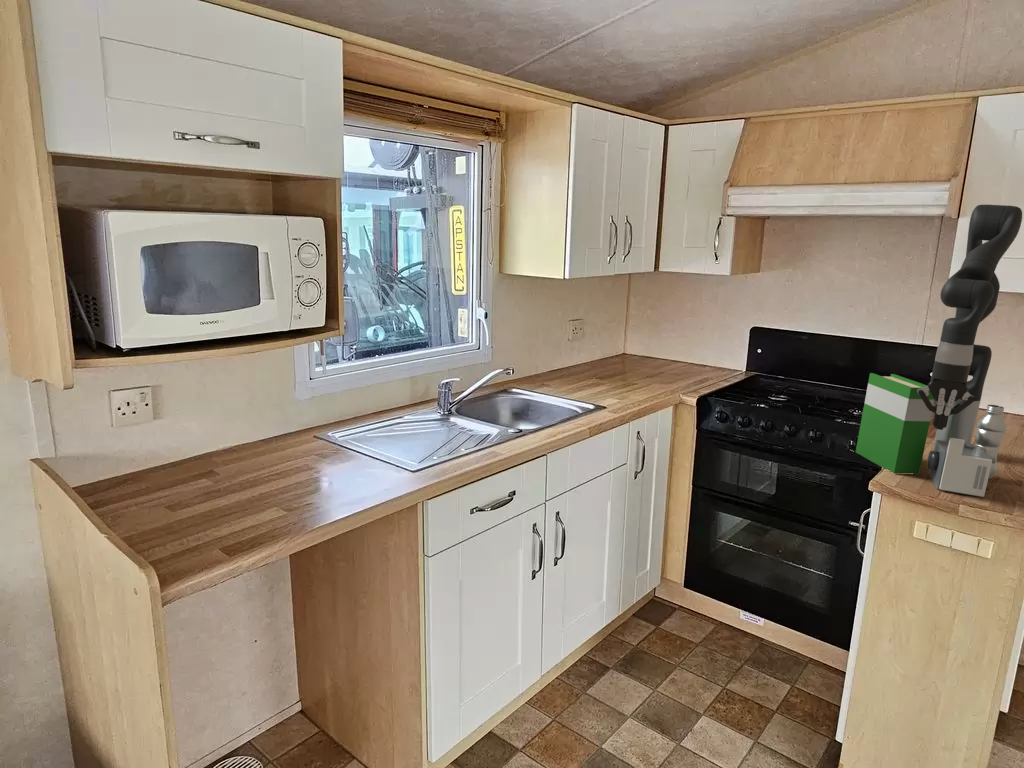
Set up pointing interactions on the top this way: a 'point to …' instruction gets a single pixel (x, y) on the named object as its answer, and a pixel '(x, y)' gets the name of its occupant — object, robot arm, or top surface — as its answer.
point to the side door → (964, 471)
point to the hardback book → (894, 424)
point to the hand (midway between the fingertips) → (938, 428)
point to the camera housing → (939, 456)
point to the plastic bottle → (991, 433)
